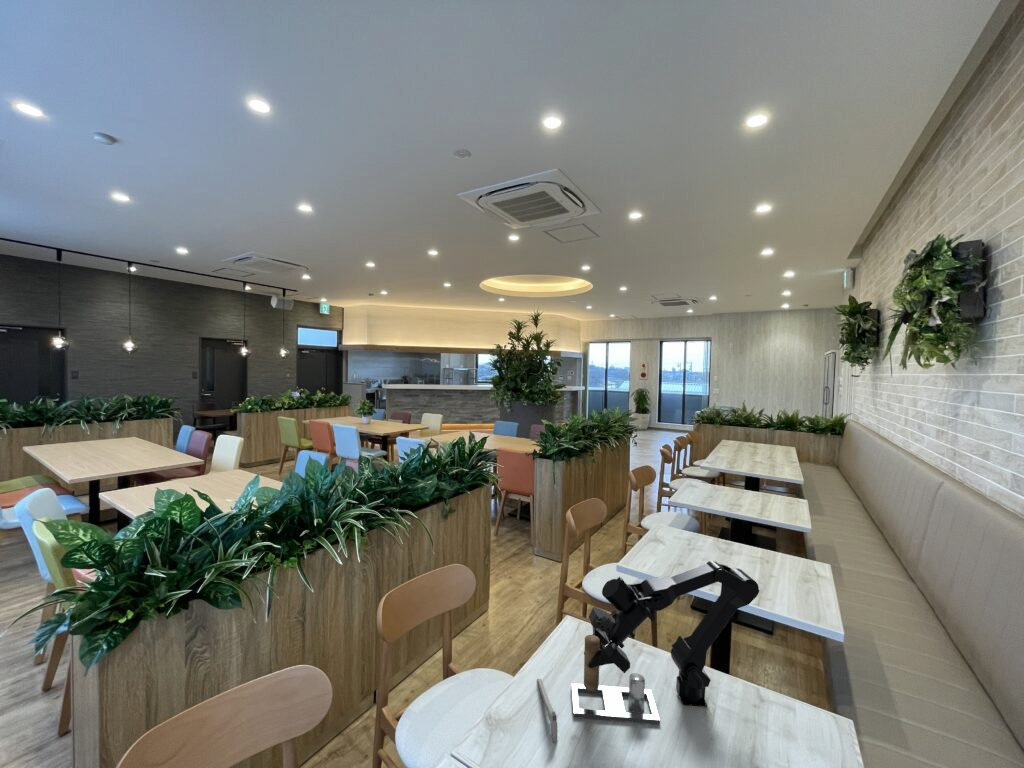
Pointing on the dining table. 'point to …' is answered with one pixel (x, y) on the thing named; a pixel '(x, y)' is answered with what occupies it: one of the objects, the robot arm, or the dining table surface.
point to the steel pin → (636, 692)
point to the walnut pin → (590, 651)
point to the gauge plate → (614, 705)
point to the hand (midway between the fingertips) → (586, 660)
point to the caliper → (549, 711)
